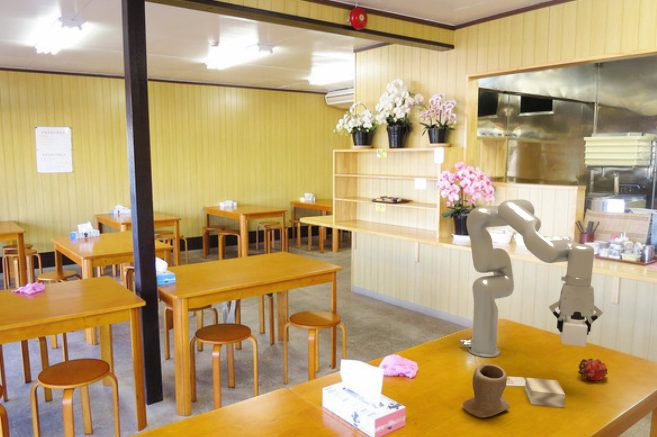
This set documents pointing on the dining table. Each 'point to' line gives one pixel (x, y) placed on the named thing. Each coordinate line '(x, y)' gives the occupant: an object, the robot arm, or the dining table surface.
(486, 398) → the stone cup
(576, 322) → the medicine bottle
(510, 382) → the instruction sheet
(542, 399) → the base block
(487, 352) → the robot arm
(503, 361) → the dining table surface
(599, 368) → the dragon fruit
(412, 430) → the dining table surface
